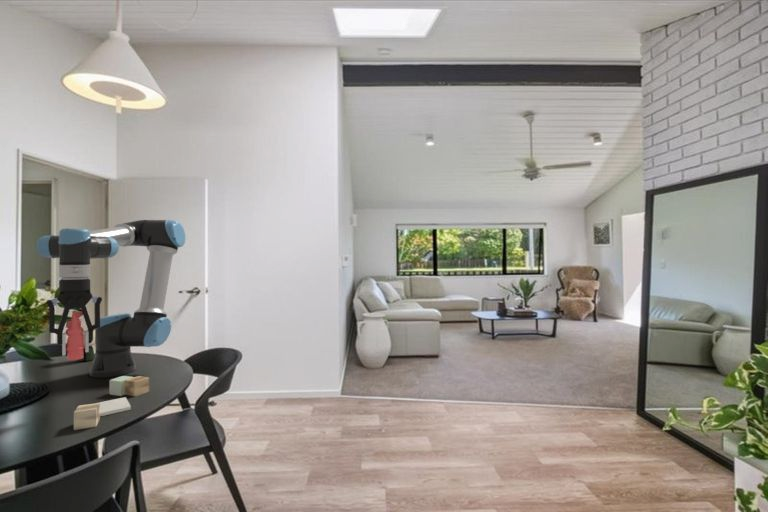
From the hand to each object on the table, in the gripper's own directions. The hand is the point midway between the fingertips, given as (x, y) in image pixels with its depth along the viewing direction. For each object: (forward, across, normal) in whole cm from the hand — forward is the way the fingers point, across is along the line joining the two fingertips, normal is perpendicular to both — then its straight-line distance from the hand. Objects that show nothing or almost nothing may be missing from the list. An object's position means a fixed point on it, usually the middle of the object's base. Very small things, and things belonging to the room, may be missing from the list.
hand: (75, 352), depth 118 cm
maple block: (+17, +2, -16) cm, 24 cm away
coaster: (+17, +8, -7) cm, 20 cm away
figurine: (+2, 0, 0) cm, 2 cm away
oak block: (+18, +17, +3) cm, 24 cm away
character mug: (+18, +7, +63) cm, 66 cm away
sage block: (+18, +13, +6) cm, 23 cm away
